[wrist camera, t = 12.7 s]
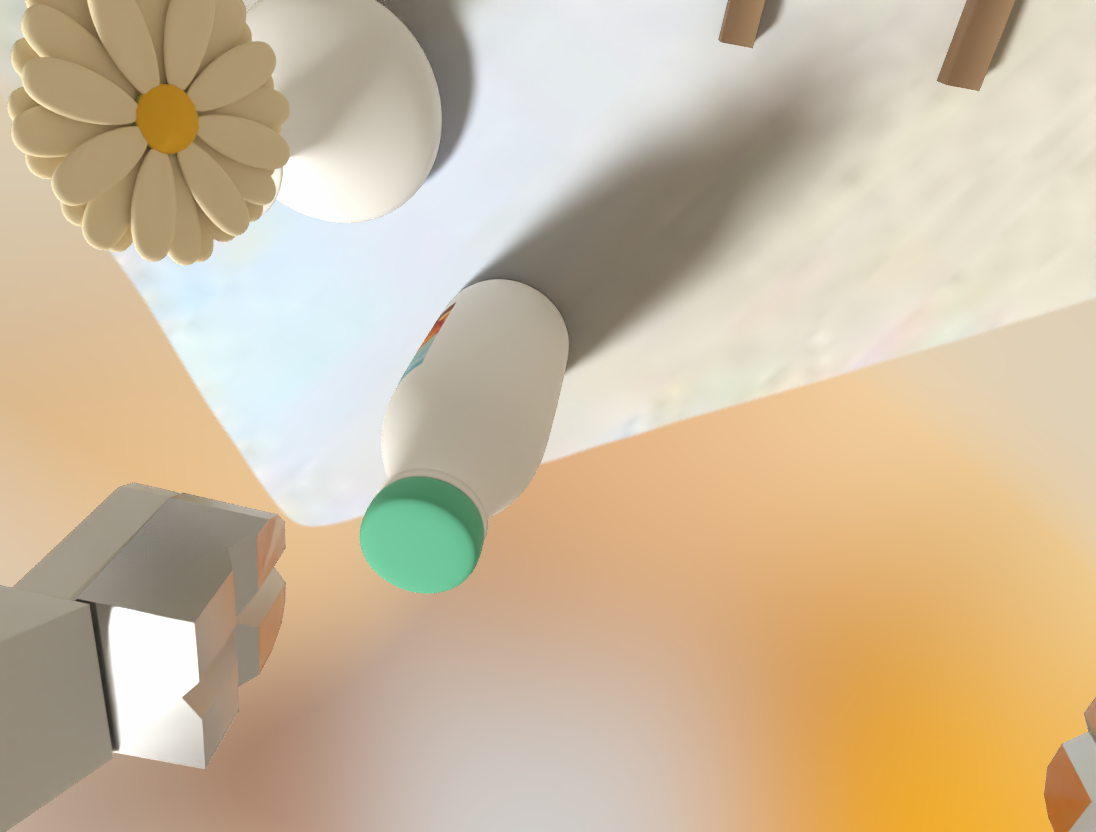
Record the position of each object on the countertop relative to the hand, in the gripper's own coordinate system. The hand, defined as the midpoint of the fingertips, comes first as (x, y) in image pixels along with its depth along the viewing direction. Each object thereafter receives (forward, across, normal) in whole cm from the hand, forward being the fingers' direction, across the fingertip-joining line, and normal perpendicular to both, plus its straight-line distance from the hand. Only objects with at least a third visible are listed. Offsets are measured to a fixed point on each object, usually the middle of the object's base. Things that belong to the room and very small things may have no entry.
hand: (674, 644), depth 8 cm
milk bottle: (+37, +6, +14) cm, 40 cm away
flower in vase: (+37, +16, +2) cm, 41 cm away
